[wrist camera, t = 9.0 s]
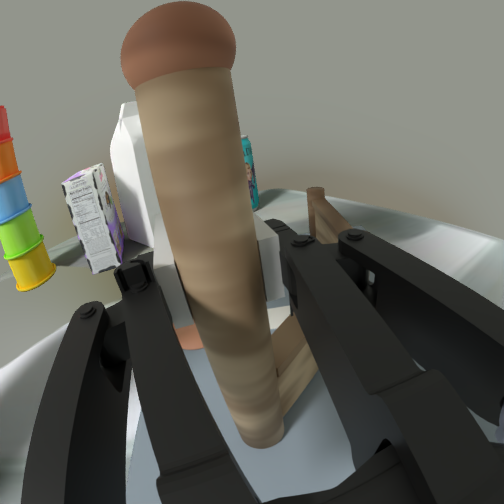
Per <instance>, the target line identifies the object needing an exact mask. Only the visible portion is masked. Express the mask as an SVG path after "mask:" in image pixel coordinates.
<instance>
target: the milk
mask: <svg viewBox="0 0 504 504" xmlns="http://www.w3.org/2000/svg"><path fill="white" fill-rule="evenodd" d="M110 155H111V160H112V166H113V171H114V177H115V181H116V186H117V191H118V196H119V200H120V205H121V209H122V213H123V217H124V222H125V226H126V230H127V233H128V237H129V239H131V240H134V241H136V242H139V243H141V244H144V245H146V246H149V247H152V248H154V228H155V214H158V213H161V211H160V207H159V203H158V199H157V195H156V191H155V187H154V183H153V179H152V175H151V170H150V166H149V162H148V157H147V152H146V148H145V143H144V138H143V133H142V128H141V123H140V118H139V112H138V107H137V101H132V102H127V103H124V104H122V106H121V110H120V116H119V121H118V124H117V127H116V129H115V132H114V135H113V139H112V141H111V146H110Z"/></svg>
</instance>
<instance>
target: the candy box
mask: <svg viewBox="0 0 504 504" xmlns="http://www.w3.org/2000/svg"><path fill="white" fill-rule="evenodd" d="M61 185H62V188H63V191H64V195H65V199H66V202H67V205H68V208H69V211H70V214H71V218H72V221H73V224H74V226H75V229H76V232H77V235H78V238H79V240H80V243H81V246H82V249H83V251H84V254H85V256H86V259H87V261H88V264H89V266H90V269H91V271H92V273H93V274H97V273H101V272H104V271H107V270H111V269H114V268H117V267H118V266H119V265H121V264H122V260H123V246H124V234H123V230H122V227H121V224H120V221H119V218H118V215H117V212H116V208H115V205H114V201H113V199H112V195H111V191H110V188H109V184H108V180H107V176H106V173H105V169H104V165H103V163H101V164H98V165H95V166H92V167H89V168H87V169H84V170H81V171H79V172H77V173H76V174H74V175H73V176H71V177H70V178H68V179H67V180H66V181H64V182H63V183H62V184H61Z"/></svg>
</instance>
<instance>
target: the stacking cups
mask: <svg viewBox="0 0 504 504" xmlns="http://www.w3.org/2000/svg"><path fill="white" fill-rule="evenodd" d="M12 140H13V138H11V137H10V132H9V126H8V119H7V113H6V109H5V108H4V106H0V240H1V242H2V245H3V248H4V250H5V254H4V259H6V260H8V262H9V265H10V267H11V269H12V272H13V274H14V276H15V278H16V281H17V285H16V287H17V290H18V291H21V292H26V291H30V290H33V289H35V288H37V287H39V286H41V285H42V284H44V283H45V282H47V281H48V280H49V279H50V278H51V277H52V276H53V275H54V273H55V271H56V265H55V264H54V263H51V261H50V258H49V256H48V254H47V251H46V249H45V246H44V243H43V239H44V236H43V235H41V234H39V232H38V229H37V226H36V223H35V220H34V217H33V214H32V211H31V206H32V204H30V203H28V200H27V197H26V193H25V190H24V187H23V183H22V179H21V175H20V173H21V171H19V170H18V166H17V162H16V158H15V153H14V148H13V143H12Z"/></svg>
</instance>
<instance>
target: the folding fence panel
mask: <svg viewBox="0 0 504 504" xmlns="http://www.w3.org/2000/svg"><path fill="white" fill-rule="evenodd" d="M235 54H236V42H235V37H234V33H233V31H232V29H231V27H230V25H229V24H228V22H227V21H226V20H225V19H224V17H223V16H222V15H220V14H219V13H218V12H217V11H215V10H213V9H212V8H210V7H208V6H206V5H203V4H200V3H195V2H188V1H179V2H172V3H167V4H164V5H161V6H158V7H156V8H154V9H152V10H150V11H149V12H147V13H145V14H144V15H143V16H142V17H140V18H139V19H138V20H137V21H136V22H135V23H134V25H133V26H132V27H131V28H130V30H129V31H128V33H127V35H126V37H125V39H124V41H123V45H122V49H121V67H122V71H123V73H124V76H125V78H126V79H127V82H128V83H129V85H130V86H131V87H132V88H133V89H134V90H135V95H136V101H137V107H138V112H139V118H140V123H141V128H142V133H143V138H144V143H145V148H146V152H147V157H148V162H149V166H150V170H151V175H152V179H153V183H154V187H155V191H156V195H157V199H158V203H159V207H160V211H161V215H162V218H163V222H164V226H165V229H166V233H167V236H168V240H169V243H170V247H171V250H172V254H173V257H174V260H175V264H176V267H177V270H178V273H179V277H180V280H181V283H182V286H183V289H184V292H185V295H186V298H187V301H188V304H189V307H190V310H191V313H192V316H193V319H194V322H195V325H196V327H197V330H198V333H199V336H200V338H201V341H202V344H203V347H204V349H205V352H206V355H207V357H208V360H209V362H210V365H211V368H212V370H213V373H214V375H215V378H216V380H217V383H218V385H219V388H220V390H221V393H222V395H223V397H224V400H225V402H226V404H227V407H228V409H229V411H230V414H231V416H232V418H233V421H234V423H235V425H236V427H237V430H238V432H239V434H240V436H241V438H242V440H243V441H244V443H245V444H247V445H248V446H250V447H252V448H256V449H266V448H269V447H272V446H274V445H276V444H277V443H278V442H279V441H280V440H281V439H282V437H283V434H284V422H283V417H284V415H285V414H286V413H287V412H288V410H289V409H290V408H291V406H292V405H293V404H294V403H295V401H296V400H297V399H298V397H299V396H300V394H301V393H302V392H303V390H304V389H305V388H306V386H307V385H308V384H309V382H310V381H311V379H312V378H313V376H314V375H315V374H316V372H317V371H318V369H319V368H318V366H317V364H316V361H315V359H314V357H313V354H312V352H311V350H310V347H309V345H308V343H307V341H306V338H305V336H304V334H303V331H302V329H301V327H300V324H299V322H298V320H297V318H296V315H295V313H294V312H293V316H291V314H290V315H289V316H288V317H287V318H286V319H285V320H284V321H283V322H282V324H281V325H280V326H279V327H278V328H277V329H276V330H275V331H274V332H273V333H272V335H271V331H270V325H269V318H268V311H267V304H266V297H265V291H264V284H263V277H262V270H261V264H260V257H259V251H258V244H257V237H256V231H255V224H254V218H253V211H252V205H251V198H250V192H249V185H248V179H247V172H246V166H245V160H244V153H243V147H242V140H241V135H240V128H239V122H238V115H237V109H236V103H235V97H234V90H233V84H232V78H231V72H230V70H231V68H232V66H233V63H234V59H235Z"/></svg>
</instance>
